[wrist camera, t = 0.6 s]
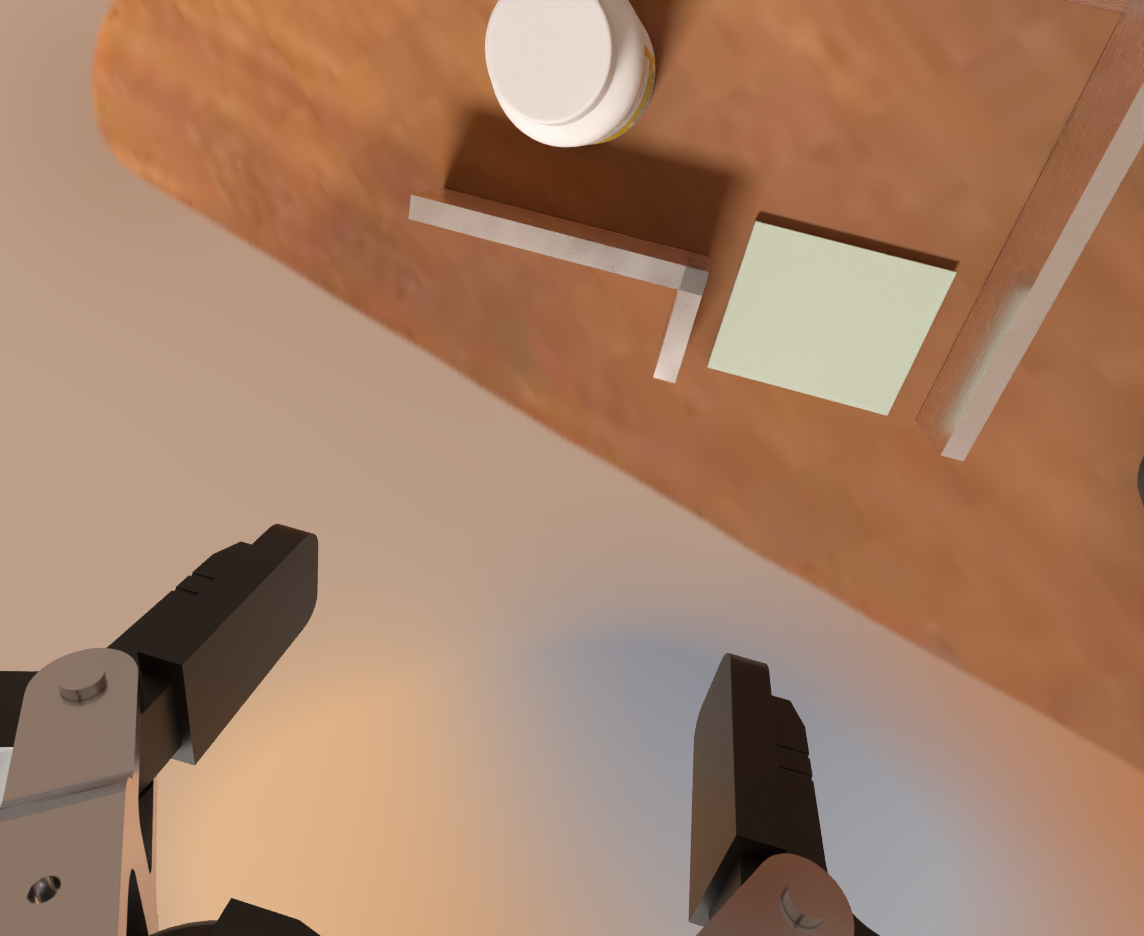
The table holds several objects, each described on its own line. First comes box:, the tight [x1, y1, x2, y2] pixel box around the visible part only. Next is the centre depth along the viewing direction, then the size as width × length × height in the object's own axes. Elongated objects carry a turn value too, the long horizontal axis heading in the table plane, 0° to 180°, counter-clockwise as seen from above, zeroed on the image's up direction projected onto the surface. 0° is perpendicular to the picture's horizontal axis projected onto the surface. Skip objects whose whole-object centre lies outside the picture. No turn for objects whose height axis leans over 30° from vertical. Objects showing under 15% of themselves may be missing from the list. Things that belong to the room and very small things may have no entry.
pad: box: [707, 220, 957, 415], centre depth 31 cm, size 7×9×1 cm
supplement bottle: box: [485, 0, 656, 147], centre depth 25 cm, size 5×5×10 cm
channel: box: [409, 0, 1144, 461], centre depth 28 cm, size 18×26×4 cm
